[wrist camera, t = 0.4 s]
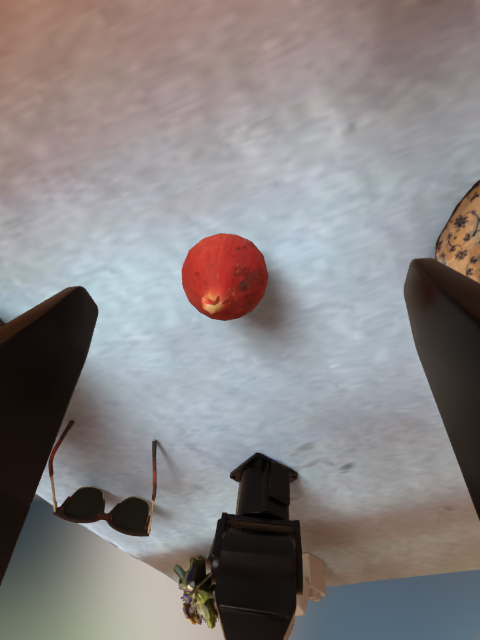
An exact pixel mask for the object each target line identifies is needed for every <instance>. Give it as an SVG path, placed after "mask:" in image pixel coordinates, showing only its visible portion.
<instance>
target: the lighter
mask: <svg viewBox="0 0 480 640" xmlns="http://www.w3.org/2000/svg"><path fill="white" fill-rule="evenodd" d="M302 560H303V595H302V596H298V595H296V600H297V605H296V613H295V615H296V616H300V615H304V614H305V611H306V606H307V601H308V598H309V599H311V600H313V601H315V602H317V601H321V596H326V585H325V575H324V564H323V562H322V561H321V560H319V559H318V558H316V557H315V556H313V555H312V554H310V553H304V554H302Z"/></svg>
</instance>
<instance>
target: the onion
mask: <svg viewBox="0 0 480 640" xmlns="http://www.w3.org/2000/svg"><path fill="white" fill-rule="evenodd" d="M268 277H269V276H268V272H267V268H266V264H265V260H264V256H263V254H262V253H261V252H260V251H259V250H258V248H257V247H256V246H255V245H254V244H253V243H252V242H251V241H249V240H247V239H245V238H242V237H240V236H238V235H233V234H222V233H220V234H217V235H213V236H210V237H206V238H204V239H202V240H201V241H200V242H199V243H197V244H196V245H195V246H194V247H193V248H192V249H190V250H189V252H188V255H187V257H186V259H185V262H184V264H183V267H182V285H183V289H184V291H185V293H186V296H187V298H188V300H189V302H190V303H191V304H192V305H193V306H194V307H195V308H196V309H197V310H198V311H199V312H200V313H202V314H204V315H206V316H208V317H209V318H211V319H217V320H223V321H227V320H232V319H238V318H240V317H242V316H244V315H246V314H247V313H249V312H251V311H252V310H253V309H254V308H255V307H256V306H257V304H258V303H259V302H260V300H261V299H262V298H263V296H264V293H265V289H266V285H267V281H268Z"/></svg>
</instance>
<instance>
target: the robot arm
mask: <svg viewBox="0 0 480 640" xmlns="http://www.w3.org/2000/svg"><path fill="white" fill-rule="evenodd" d="M404 297H405V302H406V306H407V311H408V316H409V320H410V325H411V329H412V334H413V338H414V342H415V346H416V349H417V352H418V355H419V358H420V361H421V363H422V366H423V369H424V372H425V374H426V377H427V380H428V382H429V385H430V388H431V391H432V393H433V396H434V399H435V401H436V404H437V407H438V409H439V412H440V415H441V418H442V420H443V423H444V426H445V428H446V431H447V434H448V437H449V439H450V442H451V445H452V447H453V450H454V453H455V456H456V458H457V461H458V464H459V466H460V469H461V472H462V475H463V477H464V480H465V483H466V485H467V488H468V491H469V493H470V496H471V499H472V502H473V504H474V507H475V510H476V512H477V515H478V518H479V521H480V283H478V282H477V281H475V280H473V279H471V278H469V277H467V276H465V275H463V274H462V273H460V272H458V271H456V270H454V269H452V268H450V267H448V266H447V265H445V264H443V263H441V262H439V261H437V260H435V259H433V258H419V259H414V260H412V261H411V263H410V265H409V269H408V273H407V277H406V281H405V284H404ZM97 317H98V307H97V305H96V303H95V302H94V301H93V299H92V298H91V296H90V295H89V293H88V292H87V290H86V289H85V288H84V287H81V286H75V287H68V288H66V289H64V290H62V291H61V292H59V293H57V294H56V295H54V296H52V297H51V298H49V299H47V300H45V301H44V302H42V303H40V304H39V305H37V306H35V307H34V308H32V309H30V310H29V311H27V312H25V313H23V314H22V315H20V316H18V317H17V318H15V319H13V320H12V321H10V322H8V323H7V324H5V325H3V326H2V327H0V586H1V583H2V580H3V578H4V575H5V572H6V570H7V567H8V564H9V562H10V559H11V557H12V554H13V551H14V548H15V546H16V543H17V541H18V538H19V535H20V533H21V530H22V527H23V525H24V522H25V520H26V517H27V514H28V512H29V509H30V506H31V505H30V504H31V503H32V500H33V498H34V495H35V492H36V490H37V487H38V485H39V482H40V479H41V477H42V474H43V471H44V469H45V466H46V463H47V461H48V458H49V456H50V453H51V450H52V448H53V445H54V442H55V440H56V437H57V434H58V432H59V429H60V427H61V424H62V421H63V419H64V416H65V413H66V411H67V408H68V406H69V403H70V400H71V398H72V395H73V392H74V390H75V387H76V384H77V382H78V379H79V377H80V374H81V371H82V369H83V366H84V363H85V360H86V358H87V354H88V351H89V347H90V344H91V340H92V336H93V332H94V328H95V325H96V321H97ZM230 478H231V479H233V480H235V481H237V482H239V490H238V499H237V507H236V515H234V514H227V513H224V512H223V513H222V517H221V519H219V520H218V522H217V528H216V534H215V538H214V541H213V544H212V547H211V550H210V554H209V557H208V564H209V566H210V568H211V574H212V584H216V587H215V601H216V606H217V611H218V616H219V620H220V623H221V627H222V631H223V634H224V638H225V640H288V638H289V636H290V634H291V631H292V630H293V627H294V621H295V613H296V605H297V600H296V595H298V596H302V595H303V560H302V547H301V534H300V522H299V520H294V521H291V520H289V505H290V483H291V482H293V481H294V480H296V479H297V478H298V473H297V472H295V471H293V470H291V469H289V468H287V467H285V466H283V465H281V464H279V463H277V462H276V461H274V460H272V459H270V458H268V457H266V456H264V455H262V454H260V453H256V454H254V455H253V456H252V457H250V458H249V459H248V460H246V461H245V462H244V463H243V464H241V465H240V466H239V467H237V468H236V469H235V470H234V471H232V472H231V473H230Z"/></svg>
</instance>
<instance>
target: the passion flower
mask: <svg viewBox="0 0 480 640" xmlns="http://www.w3.org/2000/svg"><path fill="white" fill-rule="evenodd" d="M173 570H174V572H176V574H177V575H178V576H179V589H181V590H183V591H184V596H183V597H181V599H184V600H183V601H185V603H183V611H184V613H185V616H186V618H187V619H190V621H191V622H192V623H193V624H194V625H195V624H196V622H197V623H198V624H200V625H201V623H202V621H201V620H202V618H203V620H204V621H205V622H206V621H207V625H208V627H209V628H210V629H212V628H214V627H215V622H217V619H216V618H218V619H219V616H218V611H217V606H216V601H215V587H216V584H212V574H211V573H208V574H207V575H206V567H205V561H204V559H203V558H201V557H200V558H198V560H196V559H194V558H192V557H191V558H190V568H189V570H188V571H186V572H185V571H184V570H183V569H182V568H181V567H180V566H179V565H175V566H174V569H173ZM195 612H196V614H195Z"/></svg>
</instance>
